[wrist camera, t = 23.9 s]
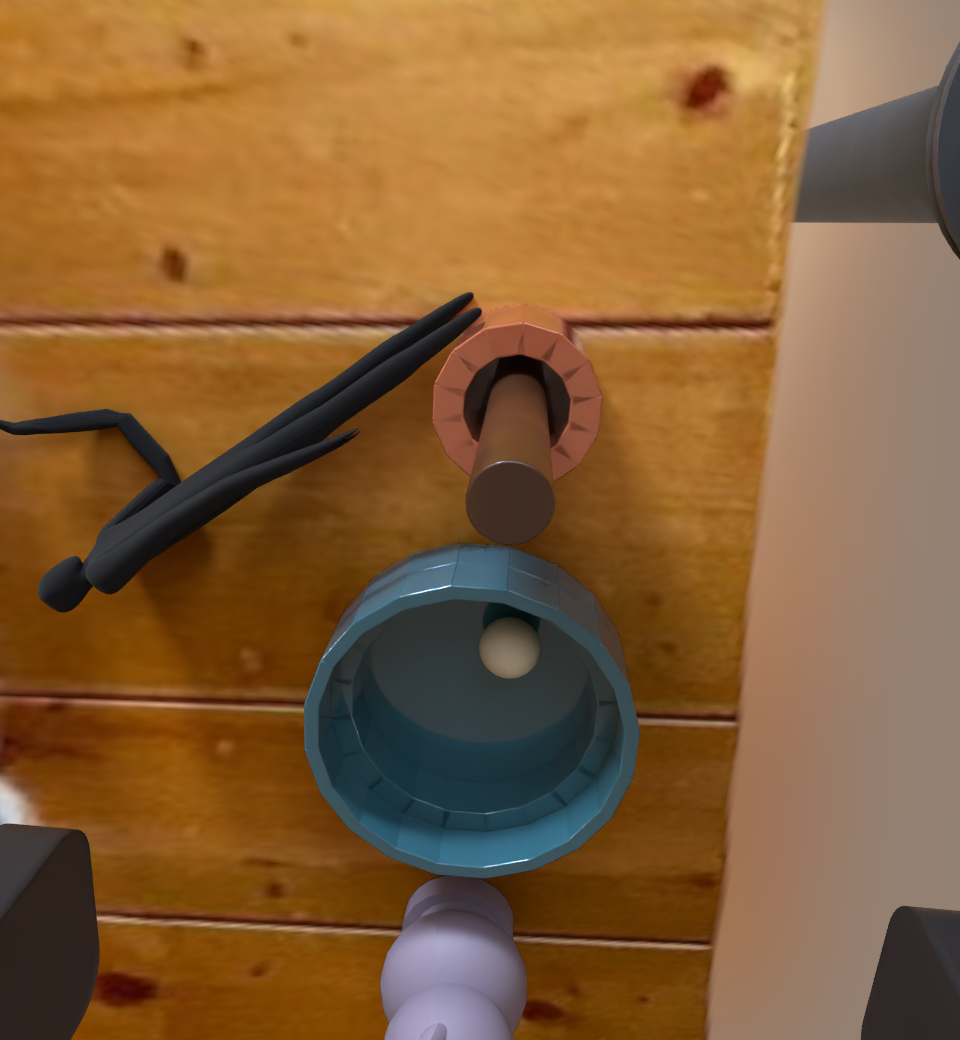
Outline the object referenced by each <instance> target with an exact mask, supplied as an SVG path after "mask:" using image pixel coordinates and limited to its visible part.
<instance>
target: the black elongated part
mask: <svg viewBox="0 0 960 1040" xmlns="http://www.w3.org/2000/svg"><path fill="white" fill-rule="evenodd" d="M472 298H473V293H471V292H469V293H466V294H463V295H461V296H459V297H457V298H455V299H454V300H452V301H450V302H448V303H447V304H445V305H443V306H442V307H440V308H438V309H436V310H435V311H433V312H432V313H430V314H428V315H427V316H425V317H424V318H422V319H421V320H419V321H418V322H416V323H414V324H413V325H411V326H410V327H408V328H407V329H405V330H404V331H402V332H400V333H398V334H396V335H394V336H393V337H391V338H389V339H388V340H386V341H385V342H383V343H382V344H380V345H379V346H378V347H376V348H375V349H373V350H372V351H371V352H369V353H368V354H367V355H365V356H364V357H363V358H361V359H360V360H359V361H357V362H356V363H355V364H353V365H352V366H351V367H349V368H348V369H347V370H345V371H344V372H343V373H341V374H340V375H338V376H337V377H336V378H334V379H333V380H331V381H330V382H329V383H327V384H326V385H324V386H323V387H321V388H319V389H318V390H316V391H314V392H313V393H311V394H309V395H308V396H306V397H304V398H303V399H301V400H300V401H298V402H297V403H295V404H294V405H292V406H291V407H289V408H288V409H287V410H285V411H284V412H282V413H281V414H280V415H278V416H277V417H275V418H274V419H273V420H271V421H270V422H268V423H267V424H266V425H264V426H263V427H261V428H260V429H258V430H257V431H256V432H254V433H253V434H251V435H250V436H249V437H247V438H246V439H244V440H243V441H241V442H240V443H238V444H237V445H236V446H234V447H233V448H231V449H230V450H228V451H227V452H225V453H224V454H222V455H221V456H219V457H218V458H216V459H215V460H213V461H212V462H210V463H209V464H207V465H206V466H204V467H203V468H201V469H200V470H199V471H197V472H196V473H194V474H193V475H191V476H190V477H188V478H187V479H186V480H184V481H183V482H181V481H180V479H179V477H178V475H177V472H176V470H175V468H174V466H173V464H172V461H171V459H170V457H169V455H168V454H167V453H166V452H165V451H164V449H163V448H162V447H161V446H160V445H159V444H158V443H157V442H156V441H155V440H154V439H153V437H152V436H151V435H150V434H149V433H148V432H147V431H146V430H145V429H144V428H143V427H142V426H141V425H140V423H139V422H138V421H137V420H136V419H135V418H134V417H133V416H132V415H131V414H129V413H119V412H115V411H112V410H108V409H103V410H95V411H86V412H78V413H71V414H65V415H60V416H54V417H49V418H41V419H34V420H28V421H22V422H17V423H12V422H7V421H2V420H0V429H1V430H3V431H5V432H8V433H10V434H13V435H33V434H51V433H68V432H81V431H92V430H102V429H107V428H112V427H118V428H119V430H120V431H121V432H122V433H123V435H124V436H125V437H126V438H127V440H128V441H129V442H130V443H131V445H132V446H133V447H134V448H135V449H136V450H137V452H138V453H139V454H140V455H141V456H142V457H143V458H144V459H145V460H146V461H147V463H148V464H149V465H150V466H151V467H152V468H153V469H154V470H155V471H156V472H157V473H158V474H159V475H160V477H159V478H158V479H156V480H155V481H154V482H152V483H151V484H150V485H148V486H147V487H146V488H145V489H144V490H143V491H142V492H141V493H140V494H139V495H138V496H137V497H136V498H135V499H133V500H132V501H131V502H130V503H129V504H128V505H127V506H126V507H125V508H123V509H122V510H121V511H120V512H119V513H118V514H117V515H116V516H115V517H114V518H113V519H112V520H110V521H109V522H108V523H107V524H106V525H105V526H104V527H103V528H102V530H101V531H100V533H99V535H98V538H97V541H96V544H95V546H94V548H93V550H92V551H91V552H90V554H89V555H88V557H87V558H86V559H85V561H84V562H81V559H80V558H79V557H77V556H73V557H70V558H67V559H65V560H63V561H62V562H60V563H58V564H57V565H55V566H54V567H53V568H51V569H50V570H49V571H48V572H47V573H46V574H45V575H44V576H43V577H42V579H41V580H40V583H39V586H38V594H39V597H40V599H41V600H42V601H43V602H44V603H45V604H46V605H48V606H49V607H51V608H52V609H54V610H56V611H58V612H68V611H71V610H72V609H74V608H75V607H76V606H78V604H79V603H80V602H81V601H82V600H83V598H84V597H85V596H86V594H87V593H88V591H89V590H90V589H91V588H92V587H93V586H94V587H95V588H96V589H98V590H99V591H101V592H103V593H105V594H113V593H116V592H117V591H119V590H120V589H121V588H122V587H123V586H125V585H126V584H127V583H128V582H129V581H130V580H131V579H132V578H133V576H134V575H135V574H136V573H137V572H138V571H139V570H140V569H141V568H142V567H143V566H144V565H145V564H146V563H147V562H148V561H150V560H151V559H153V558H154V557H156V556H157V555H159V554H160V553H162V552H163V551H165V550H167V549H168V548H170V547H171V546H173V545H174V544H176V543H177V542H179V541H180V540H182V539H184V538H185V537H187V536H188V535H190V534H191V533H193V532H194V531H196V530H198V529H199V528H201V527H202V526H203V525H205V524H206V523H208V522H209V521H211V520H212V519H214V518H215V517H217V516H218V515H220V514H221V513H223V512H224V511H226V510H227V509H228V508H230V507H231V506H233V505H234V504H235V503H237V502H238V501H240V500H241V499H242V498H244V497H245V496H246V495H248V494H249V493H251V492H252V491H253V490H255V489H256V488H257V487H260V486H262V485H264V484H266V483H268V482H270V481H272V480H274V479H276V478H279V477H281V476H283V475H286V474H288V473H290V472H292V471H294V470H296V469H298V468H300V467H302V466H304V465H306V464H308V463H310V462H312V461H314V460H316V459H318V458H320V457H322V456H324V455H325V454H327V453H329V452H331V451H333V450H335V449H337V448H339V447H340V446H342V445H344V444H345V443H347V442H348V441H350V440H351V439H352V438H354V437H355V436H356V435H357V434H359V433H360V431H359V432H358V433H356V434H354V435H352V434H353V433H354V432H356V431H357V430H358V429H359V428H358V429H355V430H352V431H349V432H347V433H344V434H341V435H339V436H336V437H333V438H331V439H328V440H325V441H322V440H324V439H325V438H326V437H327V436H328V435H329V434H331V433H332V432H333V431H334V430H335V429H336V428H338V427H339V426H340V425H342V424H343V423H344V422H346V421H347V420H348V419H350V418H351V417H353V416H354V415H355V414H357V413H358V412H360V411H361V410H363V409H364V408H365V407H367V406H368V405H370V404H371V403H373V402H374V401H376V400H377V399H379V398H380V397H382V396H383V395H385V394H386V393H387V392H389V391H390V390H392V389H393V388H395V387H396V386H398V385H399V384H400V383H402V382H403V381H404V380H406V379H407V378H408V377H409V376H411V375H412V374H413V373H414V372H415V371H416V370H417V369H418V368H419V367H421V366H422V365H423V364H424V363H425V362H427V361H428V360H429V359H431V358H432V357H433V356H435V355H436V354H437V353H438V352H440V351H441V350H442V349H443V348H445V347H446V346H447V345H448V344H450V343H451V342H452V341H453V340H454V339H456V338H457V337H458V336H459V335H460V334H461V333H463V332H464V331H465V330H466V329H467V328H468V327H469V326H471V325H472V324H473V323H474V322H475V321H476V320H477V319H478V317H479V316H480V315H481V313H482V310H481V309H480V308H474V309H472V310H470V311H468V312H466V313H464V314H462V315H460V316H459V317H457V318H455V319H453V320H452V321H450V322H448V321H449V320H450V319H451V318H452V317H453V316H455V315H456V314H457V313H458V312H459V311H460V310H462V309H463V308H464V307H465V306H466V305H467V304H468V303H469V302H470V301H471V300H472ZM446 322H448V323H446ZM445 323H446V324H445ZM444 324H445V325H444ZM441 326H442V327H441ZM351 435H352V436H351ZM349 436H351V437H349ZM348 437H349V438H348ZM346 438H347V439H346ZM321 441H322V442H321Z"/></svg>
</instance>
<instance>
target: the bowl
mask: <svg viewBox="0 0 960 1040" xmlns="http://www.w3.org/2000/svg"><path fill="white" fill-rule="evenodd" d="M503 617H516V618H520V619H522V620H524V621H526V622H527V623H529V624H530V625H531V626H532V627H533V628H534V629H535V631H536V633H537V635H538V637H539V640H540V647H541V648H540V655H539V659H538V661H537V663H536V665H535V666H534V667H533V669H532V670H531V671H529V672H528V673H527V674H525V675H523V676H521V677H518V678H510V679H509V678H502V677H499V676H497V675H495V674H493V673H492V672H491V671H490V670H488V668H487V667H486V666H485V665H484V663H483V661H482V659H481V656H480V650H479V644H480V639H481V636H482V634H483V632H484V631H485V629H486V628H487V627H488V626H489V625H490V624H491V623H492V622H494V621H495V620H497V619H500V618H503ZM639 736H640V728H639V724H638V719H637V714H636V710H635V705H634V700H633V696H632V691H631V686H630V682H629V677H628V672H627V668H626V664H625V659H624V655H623V651H622V646H621V642H620V637H619V634H618V631H617V630H616V628H615V627H614V625H613V623H612V622H611V620H610V619H609V617H608V616H607V614H606V613H605V611H604V609H603V608H602V606H601V605H600V603H599V602H598V600H597V598H596V597H595V595H593V593H591V592H590V591H589V590H588V589H586V588H585V587H584V586H583V585H581V584H580V583H579V582H578V581H576V580H575V579H574V578H573V577H571V576H570V575H569V574H568V573H566V572H565V571H564V570H563V569H561V568H560V567H559V566H557V565H556V564H554V563H551V562H549V561H546V560H544V559H541V558H538V557H536V556H533V555H531V554H528V553H526V552H523V551H521V550H518V549H515V548H513V547H511V548H510V547H507V546H494V545H481V544H468V543H462V544H461V543H458V544H453V545H449V546H444V547H440V548H435V549H431V550H426V551H422V552H417V553H414V554H412V555H410V556H408V557H407V558H405V559H403V560H401V561H400V562H398V563H396V564H395V565H393V566H391V567H389V568H388V569H386V570H384V571H383V572H381V573H379V574H378V575H376V576H374V577H373V578H372V579H371V580H370V581H369V582H368V584H367V585H366V586H365V587H364V588H363V589H362V591H361V592H360V593H359V594H358V595H357V596H356V598H355V599H354V600H353V601H352V602H351V603H350V605H349V606H348V607H347V608H346V609H345V611H344V612H343V615H342V617H341V619H340V621H339V623H338V625H337V627H336V629H335V631H334V633H333V636H332V637H331V640H330V642H329V644H328V646H327V648H326V650H325V652H324V654H323V656H322V658H321V660H320V663H319V666H318V668H317V671H316V674H315V676H314V679H313V682H312V684H311V687H310V690H309V692H308V695H307V698H306V700H305V704H304V748H305V752H306V755H307V758H308V761H309V763H310V766H311V769H312V771H313V774H314V777H315V780H316V782H317V785H318V788H319V791H320V792H321V794H322V796H323V797H324V798H325V799H326V801H327V802H328V803H329V804H330V806H331V807H332V808H333V810H334V811H335V812H336V813H337V815H338V816H339V817H340V818H341V820H342V821H343V822H344V823H345V825H346V826H347V827H348V829H350V830H351V831H352V832H354V833H355V834H356V835H358V836H359V837H361V838H362V839H364V840H365V841H366V842H368V843H369V844H371V845H372V846H374V847H375V848H376V849H378V850H379V851H381V852H382V853H383V854H385V855H386V856H388V857H390V858H392V859H394V860H397V861H400V862H403V863H405V864H408V865H411V866H414V867H417V868H419V869H422V870H425V871H428V872H430V873H433V874H438V875H449V876H460V877H471V878H482V879H484V878H493V877H498V876H504V875H510V874H516V873H522V872H527V871H533V869H534V870H536V869H538V868H540V867H542V866H544V865H546V864H548V863H550V862H552V861H554V860H557V859H559V858H561V857H563V856H565V855H567V854H569V853H571V852H573V851H575V850H577V849H579V848H580V847H581V846H582V845H583V844H584V843H585V842H586V841H588V840H589V839H590V838H591V837H592V836H593V835H594V834H595V833H596V832H597V831H598V830H600V829H601V828H602V827H603V826H604V825H605V824H606V823H607V822H608V821H609V820H610V819H611V817H612V816H613V815H614V813H615V811H616V809H617V807H618V805H619V803H620V802H621V800H622V798H623V796H624V794H625V792H626V790H627V789H628V787H629V785H630V783H631V781H632V779H633V776H634V772H635V765H636V758H637V750H638V743H639Z"/></svg>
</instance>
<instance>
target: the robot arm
mask: <svg viewBox="0 0 960 1040" xmlns="http://www.w3.org/2000/svg"><path fill="white" fill-rule="evenodd" d="M98 965H99V938H98V928H97V918H96V908H95V897H94V887H93V877H92V867H91V857H90V848H89V843H88V839H87V837H86V835H85V834H84V833H83V832H82V831H80V830H75V829H64V828H53V827H42V826H30V825H19V824H3V825H0V1040H71V1038H72V1036H73V1034H74V1033H75V1031H76V1029H77V1027H78V1026H79V1024H80V1022H81V1020H82V1018H83V1016H84V1014H85V1012H86V1009H87V1007H88V1005H89V1002H90V999H91V996H92V993H93V990H94V986H95V982H96V978H97V972H98ZM861 1040H960V911H954V910H943V909H931V908H921V907H909V906H901V907H899V908H897V909H896V910H895V912H894V913H893V915H892V917H891V919H890V922H889V925H888V929H887V933H886V937H885V940H884V944H883V948H882V952H881V956H880V959H879V963H878V967H877V970H876V974H875V978H874V982H873V985H872V989H871V993H870V997H869V1000H868V1004H867V1008H866V1012H865V1016H864V1019H863V1025H862V1032H861Z"/></svg>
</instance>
